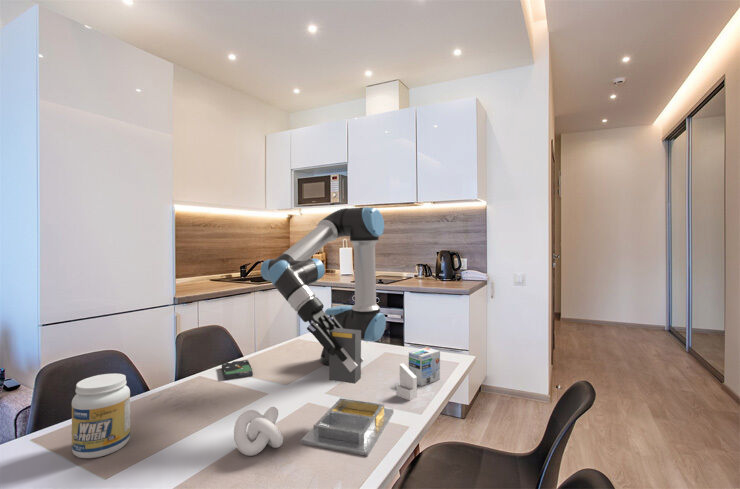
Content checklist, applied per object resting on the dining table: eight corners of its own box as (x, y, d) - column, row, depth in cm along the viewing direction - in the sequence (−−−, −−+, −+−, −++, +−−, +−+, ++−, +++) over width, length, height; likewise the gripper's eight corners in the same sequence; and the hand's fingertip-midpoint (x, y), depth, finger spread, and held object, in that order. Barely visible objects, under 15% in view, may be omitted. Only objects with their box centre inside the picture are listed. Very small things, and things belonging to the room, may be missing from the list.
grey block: (335, 374, 114) (336, 327, 114) (360, 378, 112) (361, 330, 111) (329, 379, 110) (329, 331, 110) (354, 383, 107) (355, 333, 107)
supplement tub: (64, 465, 89) (63, 393, 89) (80, 440, 100) (79, 375, 100) (126, 453, 94) (125, 385, 94) (134, 430, 105) (133, 369, 105)
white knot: (246, 434, 103) (245, 401, 103) (290, 434, 103) (290, 401, 103) (229, 458, 92) (229, 421, 92) (279, 459, 91) (279, 421, 91)
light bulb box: (421, 386, 136) (421, 356, 135) (407, 381, 141) (407, 352, 140) (440, 379, 143) (440, 350, 142) (426, 374, 148) (426, 346, 147)
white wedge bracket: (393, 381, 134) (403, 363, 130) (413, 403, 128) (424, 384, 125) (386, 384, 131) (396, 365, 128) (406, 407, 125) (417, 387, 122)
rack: (338, 404, 121) (338, 393, 121) (393, 412, 115) (393, 401, 115) (301, 443, 98) (301, 430, 98) (367, 456, 93) (367, 441, 93)
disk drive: (221, 369, 155) (224, 381, 142) (221, 363, 155) (224, 374, 142) (247, 366, 160) (253, 377, 146) (247, 359, 160) (253, 370, 146)
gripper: (312, 307, 124) (360, 364, 119) (282, 318, 107) (336, 385, 102) (327, 292, 122) (376, 349, 117) (299, 300, 106) (354, 367, 100)
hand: (357, 365), depth 109 cm, fingers closed on grey block, 4 cm apart
